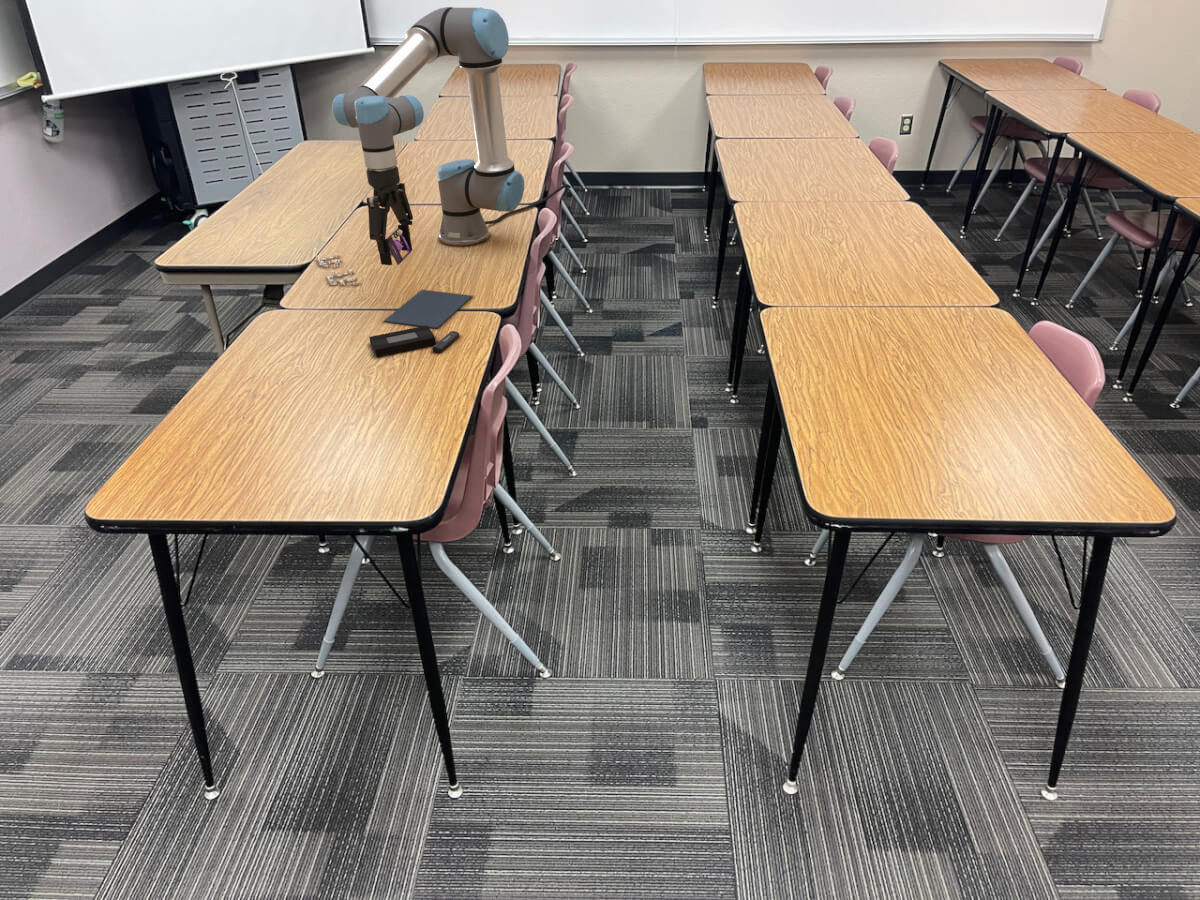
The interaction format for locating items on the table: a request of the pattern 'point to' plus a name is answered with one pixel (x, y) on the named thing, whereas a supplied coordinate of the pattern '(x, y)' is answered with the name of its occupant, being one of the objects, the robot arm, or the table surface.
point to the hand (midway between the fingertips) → (397, 257)
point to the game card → (397, 246)
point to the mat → (428, 309)
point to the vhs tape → (402, 341)
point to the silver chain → (334, 271)
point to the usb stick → (445, 341)
